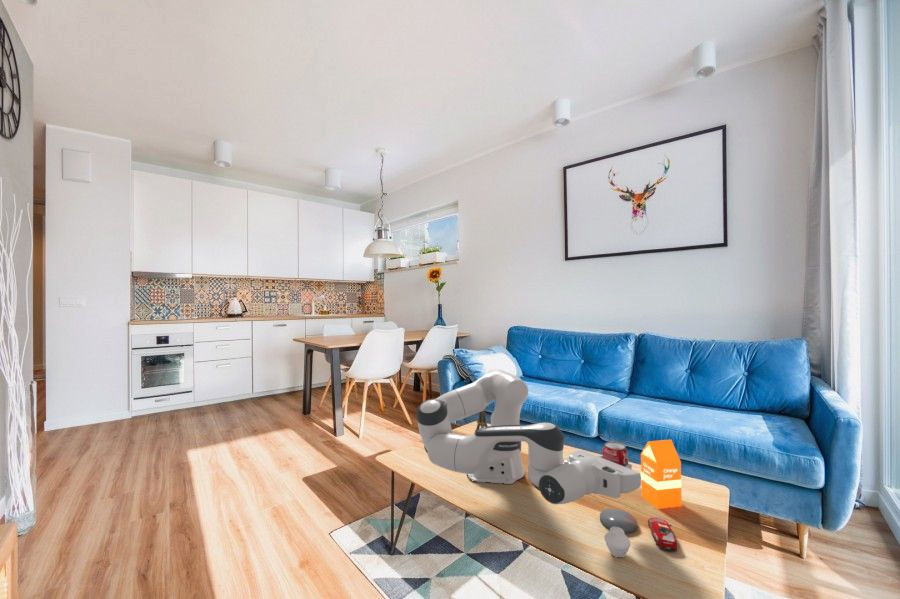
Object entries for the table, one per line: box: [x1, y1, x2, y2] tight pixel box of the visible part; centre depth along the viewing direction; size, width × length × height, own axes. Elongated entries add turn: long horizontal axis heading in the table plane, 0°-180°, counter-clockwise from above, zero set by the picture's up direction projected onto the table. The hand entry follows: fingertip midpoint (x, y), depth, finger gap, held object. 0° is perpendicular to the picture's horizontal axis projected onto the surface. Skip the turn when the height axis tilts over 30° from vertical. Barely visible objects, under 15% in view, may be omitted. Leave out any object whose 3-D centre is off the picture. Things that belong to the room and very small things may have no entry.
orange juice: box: [640, 439, 683, 510], centre depth 122 cm, size 8×9×20 cm
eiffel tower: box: [473, 408, 489, 434], centre depth 176 cm, size 11×11×25 cm
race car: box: [647, 517, 678, 552], centre depth 103 cm, size 13×5×4 cm, turn 162°
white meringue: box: [604, 526, 631, 558], centre depth 97 cm, size 6×6×7 cm
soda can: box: [602, 441, 629, 466], centre depth 110 cm, size 7×7×12 cm
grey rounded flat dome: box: [599, 508, 638, 535], centre depth 110 cm, size 10×10×2 cm
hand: (618, 462), depth 111 cm, fingers closed on soda can, 5 cm apart
